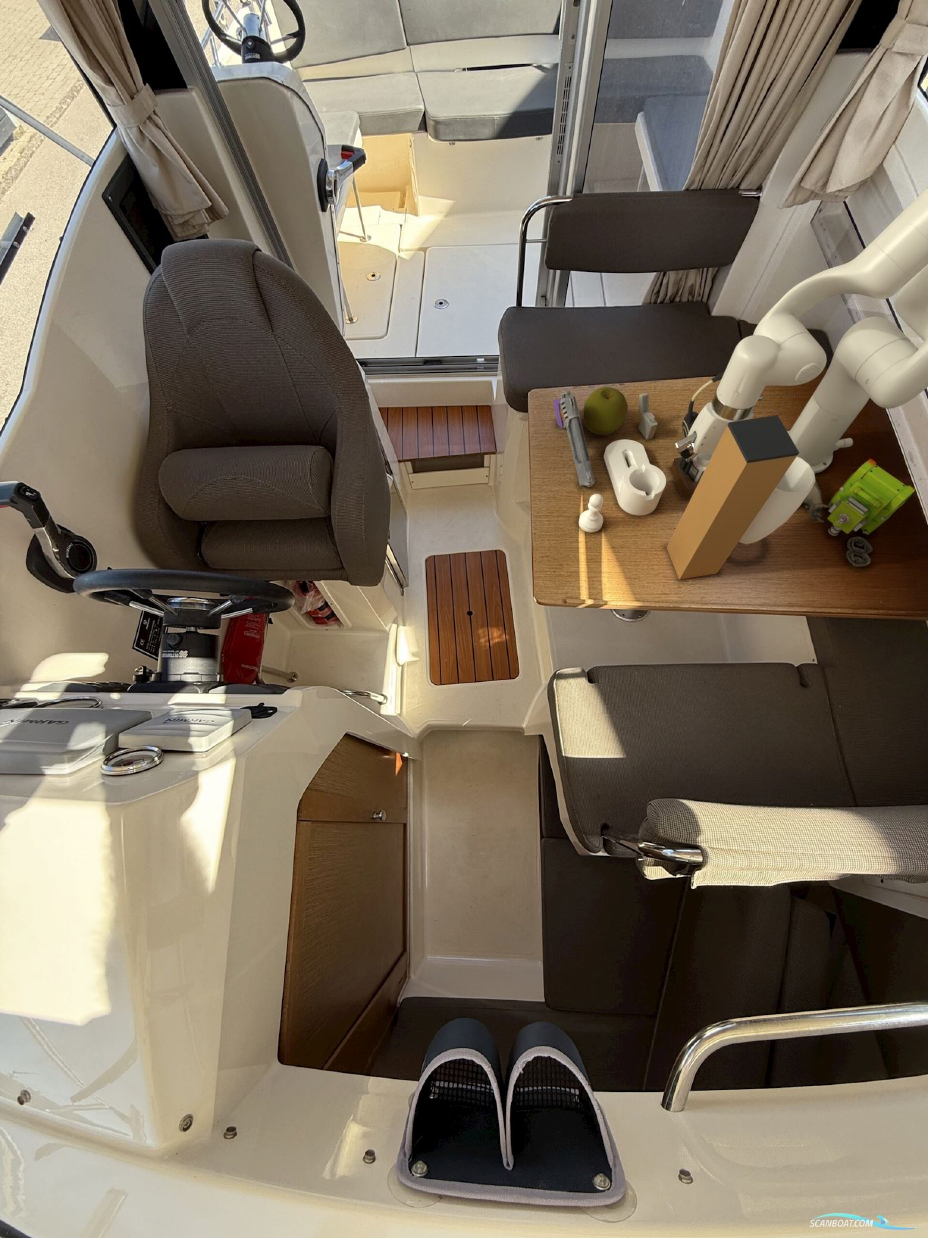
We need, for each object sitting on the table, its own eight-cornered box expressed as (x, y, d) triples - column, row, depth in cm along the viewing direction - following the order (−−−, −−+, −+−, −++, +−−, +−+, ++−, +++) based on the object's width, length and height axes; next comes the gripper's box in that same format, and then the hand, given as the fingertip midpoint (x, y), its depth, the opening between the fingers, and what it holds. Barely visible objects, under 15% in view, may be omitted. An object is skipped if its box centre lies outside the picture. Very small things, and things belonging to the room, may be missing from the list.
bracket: (662, 512, 124) (671, 492, 118) (623, 517, 124) (629, 497, 118) (637, 444, 133) (644, 422, 127) (601, 449, 133) (606, 427, 127)
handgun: (572, 495, 139) (584, 487, 124) (550, 402, 137) (559, 383, 122) (586, 491, 139) (599, 483, 124) (564, 399, 136) (575, 379, 121)
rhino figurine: (805, 531, 120) (820, 514, 115) (780, 481, 126) (793, 462, 121) (824, 529, 120) (839, 511, 115) (798, 479, 126) (812, 460, 121)
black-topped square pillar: (703, 541, 120) (777, 414, 89) (717, 573, 117) (799, 452, 86) (666, 547, 120) (728, 422, 89) (679, 579, 116) (748, 460, 85)
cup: (733, 570, 117) (781, 504, 97) (703, 533, 121) (744, 462, 102) (775, 552, 118) (831, 483, 99) (745, 516, 123) (792, 443, 104)
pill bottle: (708, 476, 128) (722, 449, 121) (703, 491, 126) (716, 465, 119) (687, 470, 129) (699, 443, 122) (682, 485, 127) (694, 458, 120)
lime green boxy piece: (828, 484, 125) (785, 517, 121) (887, 446, 110) (840, 483, 106) (869, 530, 123) (827, 565, 120) (934, 498, 108) (888, 537, 105)
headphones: (741, 452, 131) (781, 380, 113) (678, 460, 130) (708, 389, 113) (728, 425, 135) (765, 351, 117) (667, 432, 134) (694, 360, 117)
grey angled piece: (653, 437, 134) (662, 411, 127) (646, 439, 134) (655, 413, 126) (637, 417, 137) (646, 390, 130) (631, 419, 137) (639, 392, 130)
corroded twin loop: (841, 564, 116) (844, 561, 115) (845, 535, 120) (848, 532, 119) (867, 572, 115) (870, 569, 114) (871, 543, 119) (874, 540, 118)
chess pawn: (591, 510, 125) (599, 483, 117) (606, 525, 123) (615, 498, 115) (573, 521, 124) (579, 494, 116) (588, 536, 122) (595, 510, 114)
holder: (707, 463, 130) (712, 452, 127) (721, 492, 126) (727, 482, 123) (669, 468, 129) (674, 457, 126) (682, 499, 125) (687, 488, 122)
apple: (587, 446, 133) (595, 409, 124) (574, 417, 138) (580, 379, 128) (628, 437, 134) (639, 400, 124) (613, 409, 138) (623, 371, 129)
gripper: (769, 382, 110) (733, 448, 126) (682, 395, 109) (657, 460, 125) (785, 410, 107) (747, 474, 122) (695, 423, 106) (668, 486, 122)
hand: (702, 466), depth 124 cm, fingers open, 7 cm apart
